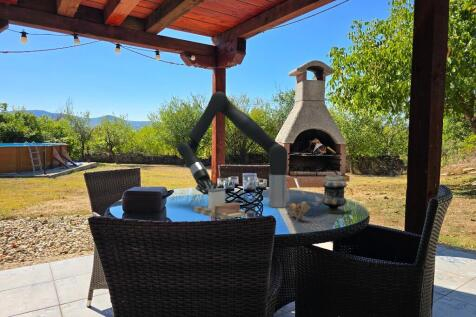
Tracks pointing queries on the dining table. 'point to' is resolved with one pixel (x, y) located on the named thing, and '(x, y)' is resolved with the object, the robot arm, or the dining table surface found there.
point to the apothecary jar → (334, 193)
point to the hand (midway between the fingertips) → (214, 199)
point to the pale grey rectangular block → (216, 197)
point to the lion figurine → (298, 209)
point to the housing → (222, 211)
